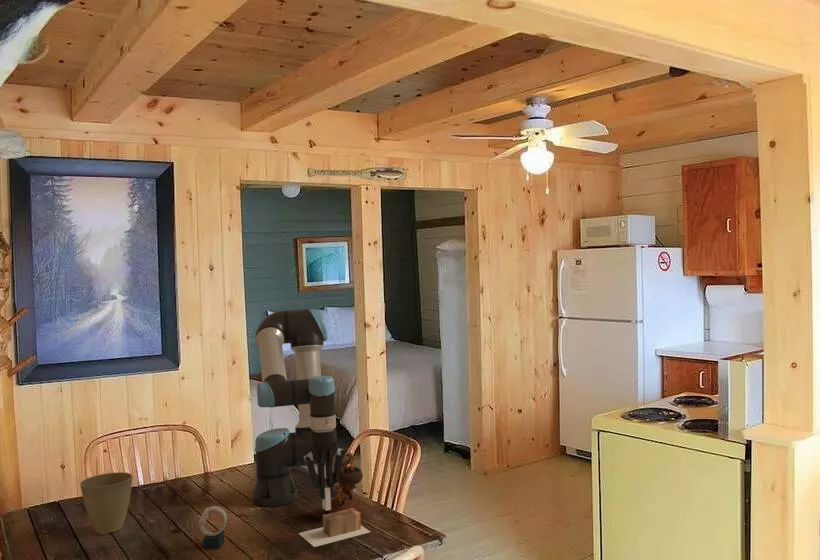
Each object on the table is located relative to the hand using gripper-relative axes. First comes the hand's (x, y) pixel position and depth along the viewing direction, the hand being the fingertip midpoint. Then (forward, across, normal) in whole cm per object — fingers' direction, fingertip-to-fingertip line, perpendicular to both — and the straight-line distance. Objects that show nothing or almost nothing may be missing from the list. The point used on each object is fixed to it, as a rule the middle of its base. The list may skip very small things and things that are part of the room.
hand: (326, 508), depth 201 cm
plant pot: (+8, -54, +45) cm, 71 cm away
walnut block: (+5, 0, 0) cm, 5 cm away
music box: (+8, +12, +12) cm, 19 cm away
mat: (+8, +2, 0) cm, 8 cm away
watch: (+8, -30, +13) cm, 34 cm away
